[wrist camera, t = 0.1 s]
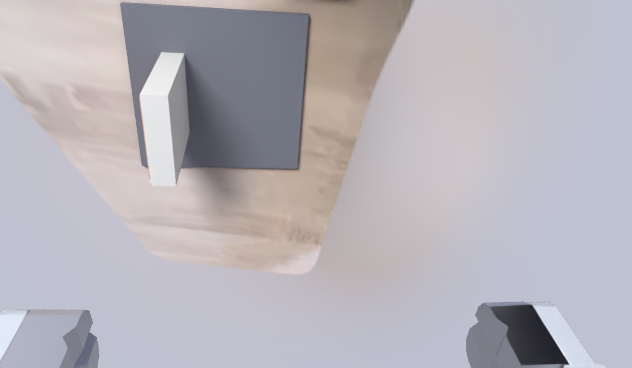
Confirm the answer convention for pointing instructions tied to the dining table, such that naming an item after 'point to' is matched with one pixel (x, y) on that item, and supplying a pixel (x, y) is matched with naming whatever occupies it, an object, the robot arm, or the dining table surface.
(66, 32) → the dining table surface
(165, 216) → the dining table surface
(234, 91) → the mat
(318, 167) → the dining table surface
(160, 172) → the tile
